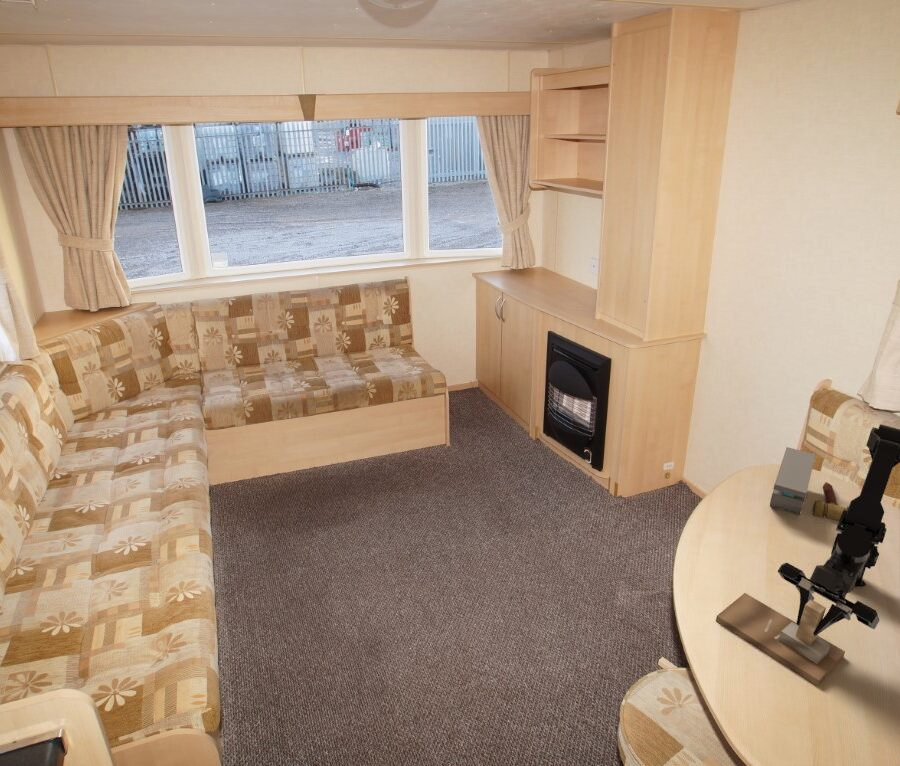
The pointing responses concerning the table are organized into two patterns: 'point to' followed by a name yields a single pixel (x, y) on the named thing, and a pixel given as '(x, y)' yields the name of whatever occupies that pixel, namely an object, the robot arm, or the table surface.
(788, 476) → the grey rectangular box
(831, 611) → the robot arm
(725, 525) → the table surface
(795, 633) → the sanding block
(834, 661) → the walnut board
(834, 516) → the gavel
